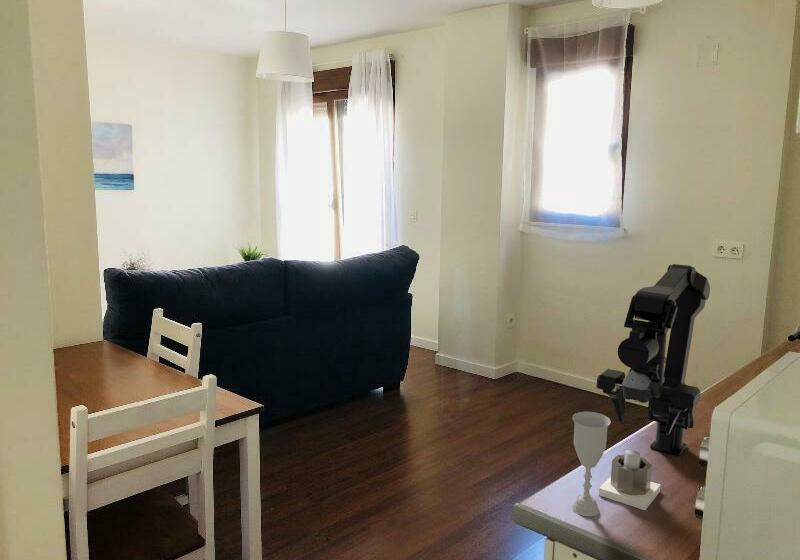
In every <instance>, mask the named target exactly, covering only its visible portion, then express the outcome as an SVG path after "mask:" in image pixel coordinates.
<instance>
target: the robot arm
mask: <svg viewBox="0 0 800 560" xmlns="http://www.w3.org/2000/svg"><path fill="white" fill-rule="evenodd" d="M710 293H711V286H710V283H709V279H708V277H706V276H705V275H704V274H703V275H702V274H701V273H699V272H698V271H697V270H696V268H695V267H694V266H692V265H689V264H688V265H687V264H678V263H673V264H669V266H668V267H667V269H666V272H665V273H664V274H663V275H662V276H661V277H660V278H659V280H658V281H657V282H655V284H654V285H653V286H645V287H641V288H640V289H639V290H637V291H636V293H635V294H634V295H632V297H631V300H630V303H629V307H628V309H627V310H628V311H627V314H626V317H625V321H624V324H623V327H624V328H628V329H631V330H630V331H629V336H628V337H626V338H625V339H623V340H622V341H621V342H620V344H619V345H618V347H617V356H618V359H619V361H620V362H621V363H622V364H623V365H624V366H626V367H627V368H630V369H629V370H628V372H627V374H626V373H625V372H624V371H621V370H616V369H610V368H607V369H606V370H604V371H603V372H602V373H601V374H599V375H597V378H596V384H595V385H596V388H597V389H598V390H602V393H603V394H605V395H606V396H608V397H609V398H610V399H611V401H612V403H613V406H614V409H615V412H616V415H617V419H618V421H619V423H620V424H623V422H624V420H625V419H624V418H625V410H626V400H627V401H628V400H633V401H636V402H639V403H641V404H646V403H647V406H648V410H647V411H648V421H650V422H656V429H655V430H656V432H655V439H654V441H653V442H652V443H651V444H650V445H649V448H650V449H653V450H657V451H658V452H662V453H663V452H664V453H667V454H671V455H675V456H678V457H679V456H681V455H682V453H683V452H684V451H685V449H686V448H687V447H688V444H687V443H685V442H684V433H685V432H684V431H685V430H687V431H688V430H689V429H693V428H694V426H695V413H694V408H695V407H696V406H697V405H698V403H700V401H701V396H702V395H701V390H700V388H699V387H698V386H693V385H688V384H686V376H687V368H688V363H689V356H690V352H691V351H690V350H691V343H692V337H693V331H694V325H695V320H696V318H697V316H698V315H699V314H700V313H701V312H702V311H703V310H704V308H705V305H706V301H708V300H709V298H710ZM669 330H670V332H669ZM668 332H669V339H668V345H667V335H668ZM666 349H667V350H666Z"/></svg>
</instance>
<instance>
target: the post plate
mask: <svg viewBox="0 0 800 560" xmlns="http://www.w3.org/2000/svg"><path fill="white" fill-rule="evenodd" d="M624 455H625V459H624V467H628V468H631V469H639V464H640V457H641V453H640V452H639V451H637V450H633V449H627V450H625V451H624ZM661 486H662V485H661V484H660V483H657V482H653V481H651V483H650V489H649V491H648V492H647V493H646V495H632V496H631V495H628V494H625V493H622V492H619V491H617V490H616V489H615V488H614V487H613V486H612V485H611V475H610V476H609V477H608V478H607V479H606V480H605V481H604V482H603V484H601V486H600V487H599V488H598V496H600V497H604V498H607V499H610V500H613V501H615V502H617V503H618V502H619V503H622V504H625V505H628V506H631V507H633V508H636V509H640V510H641V511H642V510H643V511H646V510H647V509H648V508H649V507H650V505H651V503H653V501H654V500H655V498H656V497H657V496H658V494H659V493H660V492H661Z"/></svg>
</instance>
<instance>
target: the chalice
mask: <svg viewBox="0 0 800 560" xmlns="http://www.w3.org/2000/svg"><path fill="white" fill-rule="evenodd" d="M571 419H572V421H573V423H574V426H573V427H574V430H573V447H574V449H575V453H576V455H577V457H578V460H579V462H580V464H581V466H583V467H584V468H585V472H584V474H583V478H584V482H583V483H582V487H583V490H584V491H583V493H582V494H579V495H577V497H576V499H575V500H574V501H573V504H572V506H571V509H572V508H573V509H572V511H573V510H574V511H575V512H574V511H573V512H574V513H576V514H577V513H578V514H577V515H579V514H580V516H582V517H583V516H584V517H596V516H598V515H599V514H600V509H599V505H598V504H597V500H596V498H595V497H594V496H592V494H590V489H591V488H592V487H593V485H592V484H591V479H592V478H593V475H592V472H591V470H592V468H596V466H597V465H598V463H599V462H600V460H601V459H602V457H603V455H604V452H605V451H606V449H607V438H608V428H609V427H610V424H611V419H610V418H609V417H608V416H606V415H605V414H602V413H598V412H594V411H580V412H579V411H578V412H575V413H574V414H573V415H572V417H571Z"/></svg>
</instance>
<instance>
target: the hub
mask: <svg viewBox="0 0 800 560" xmlns="http://www.w3.org/2000/svg"><path fill="white" fill-rule="evenodd" d="M624 459H625V454H617V455H616V456H615V457H614V458H613V459H612V460H611V469H610V476H611V485H612V486H613V487H614V488H615V489H616V490H617V491H619V492H622V493H625V494H628V495H631V496H632V495H646V493H647V492H648V491H649V489H650V483H651V482H652V470H653V467H652V466H653V465H652V463H650V461H648V460H647V459H646V458H643V457H641V456H640V464H639V469H631V468H628V467H624Z"/></svg>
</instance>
